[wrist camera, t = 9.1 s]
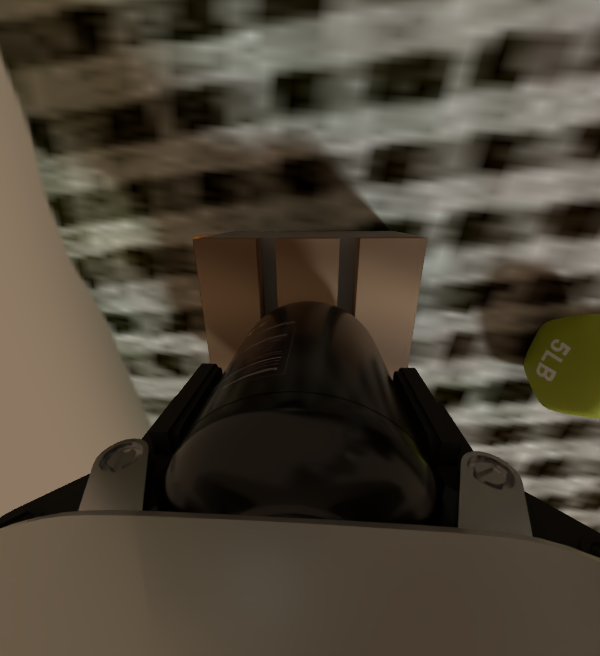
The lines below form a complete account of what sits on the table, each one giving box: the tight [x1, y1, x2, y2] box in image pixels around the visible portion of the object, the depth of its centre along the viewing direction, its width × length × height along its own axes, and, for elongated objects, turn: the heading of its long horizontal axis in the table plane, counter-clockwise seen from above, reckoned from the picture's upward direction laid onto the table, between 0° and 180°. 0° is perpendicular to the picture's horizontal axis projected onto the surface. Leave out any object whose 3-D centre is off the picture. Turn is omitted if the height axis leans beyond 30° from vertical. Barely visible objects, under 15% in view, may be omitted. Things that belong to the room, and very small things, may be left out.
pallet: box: [193, 236, 427, 381], centre depth 17 cm, size 12×12×2 cm
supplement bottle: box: [157, 301, 446, 527], centre depth 9 cm, size 7×7×12 cm
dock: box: [194, 231, 421, 315], centre depth 20 cm, size 12×13×6 cm
